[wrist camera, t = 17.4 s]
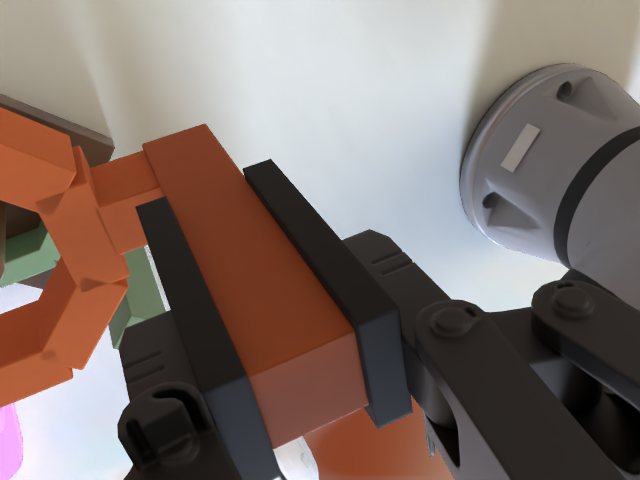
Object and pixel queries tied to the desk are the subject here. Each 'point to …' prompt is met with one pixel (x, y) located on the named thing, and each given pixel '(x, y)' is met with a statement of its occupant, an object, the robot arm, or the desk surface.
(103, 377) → the desk surface
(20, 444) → the bracket
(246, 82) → the desk surface
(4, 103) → the peg stand
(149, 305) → the sage ring
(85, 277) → the rust ring
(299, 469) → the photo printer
